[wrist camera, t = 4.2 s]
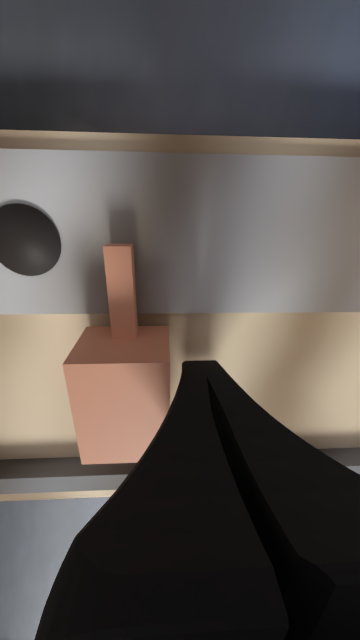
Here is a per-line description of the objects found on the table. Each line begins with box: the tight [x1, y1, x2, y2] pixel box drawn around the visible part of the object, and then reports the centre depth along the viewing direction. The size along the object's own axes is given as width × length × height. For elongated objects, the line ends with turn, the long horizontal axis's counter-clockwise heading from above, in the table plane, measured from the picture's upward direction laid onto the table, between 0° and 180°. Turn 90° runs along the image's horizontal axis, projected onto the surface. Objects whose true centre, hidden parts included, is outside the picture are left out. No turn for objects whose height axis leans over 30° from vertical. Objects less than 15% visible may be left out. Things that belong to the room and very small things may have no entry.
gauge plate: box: [0, 130, 360, 501], centre depth 10 cm, size 28×16×4 cm, turn 89°
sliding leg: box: [62, 243, 170, 465], centre depth 9 cm, size 3×7×2 cm, turn 179°
